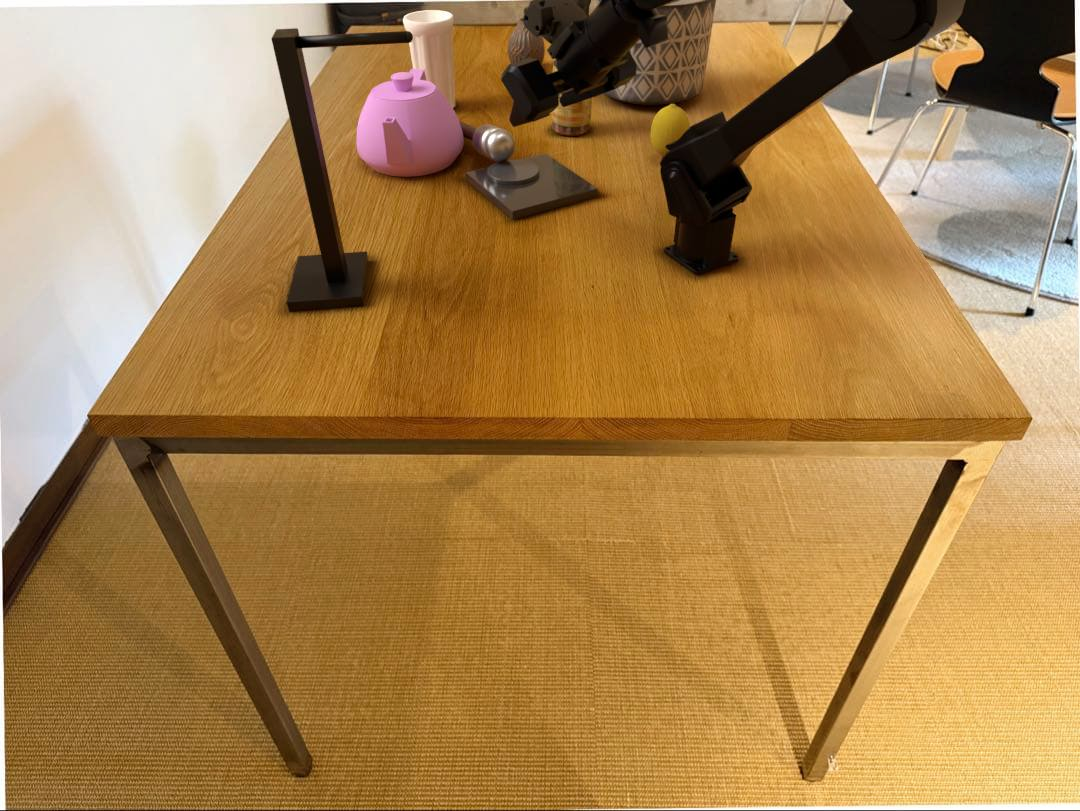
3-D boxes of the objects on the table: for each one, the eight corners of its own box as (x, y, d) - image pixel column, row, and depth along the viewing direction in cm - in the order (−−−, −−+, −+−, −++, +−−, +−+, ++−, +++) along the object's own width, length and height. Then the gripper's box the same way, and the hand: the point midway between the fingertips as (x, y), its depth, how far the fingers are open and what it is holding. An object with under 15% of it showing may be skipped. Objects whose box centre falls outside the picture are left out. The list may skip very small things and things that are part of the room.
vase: (503, 67, 145) (500, 17, 140) (535, 62, 148) (534, 12, 142) (517, 77, 141) (515, 26, 135) (550, 71, 143) (550, 21, 137)
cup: (404, 106, 130) (393, 15, 120) (445, 96, 133) (436, 7, 124) (429, 120, 125) (419, 26, 115) (470, 108, 128) (463, 17, 119)
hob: (597, 196, 102) (598, 183, 101) (512, 220, 97) (512, 207, 96) (545, 160, 111) (545, 148, 110) (465, 180, 107) (464, 168, 106)
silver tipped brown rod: (524, 135, 105) (447, 106, 124) (497, 128, 102) (423, 99, 121) (516, 167, 106) (441, 133, 125) (489, 161, 104) (417, 127, 123)
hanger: (440, 254, 91) (412, 13, 74) (441, 300, 83) (411, 42, 66) (300, 265, 90) (238, 21, 72) (288, 311, 82) (217, 51, 65)
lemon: (685, 168, 109) (691, 112, 103) (646, 165, 110) (651, 109, 104) (687, 153, 113) (693, 98, 108) (650, 150, 114) (654, 96, 108)
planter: (708, 81, 137) (721, -21, 127) (698, 118, 123) (712, 7, 113) (604, 74, 141) (608, -26, 130) (583, 110, 127) (585, 1, 116)
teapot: (378, 130, 121) (365, 51, 114) (474, 131, 121) (468, 51, 113) (341, 190, 105) (324, 101, 97) (453, 192, 104) (444, 102, 96)
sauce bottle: (544, 134, 119) (543, -7, 106) (562, 121, 124) (562, -16, 111) (582, 141, 117) (585, -2, 104) (598, 127, 121) (603, -12, 108)
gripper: (622, -44, 88) (553, 41, 101) (508, -16, 78) (448, 75, 91) (672, 41, 89) (597, 114, 102) (565, 80, 79) (497, 156, 92)
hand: (537, 113), depth 96 cm, fingers open, 9 cm apart
